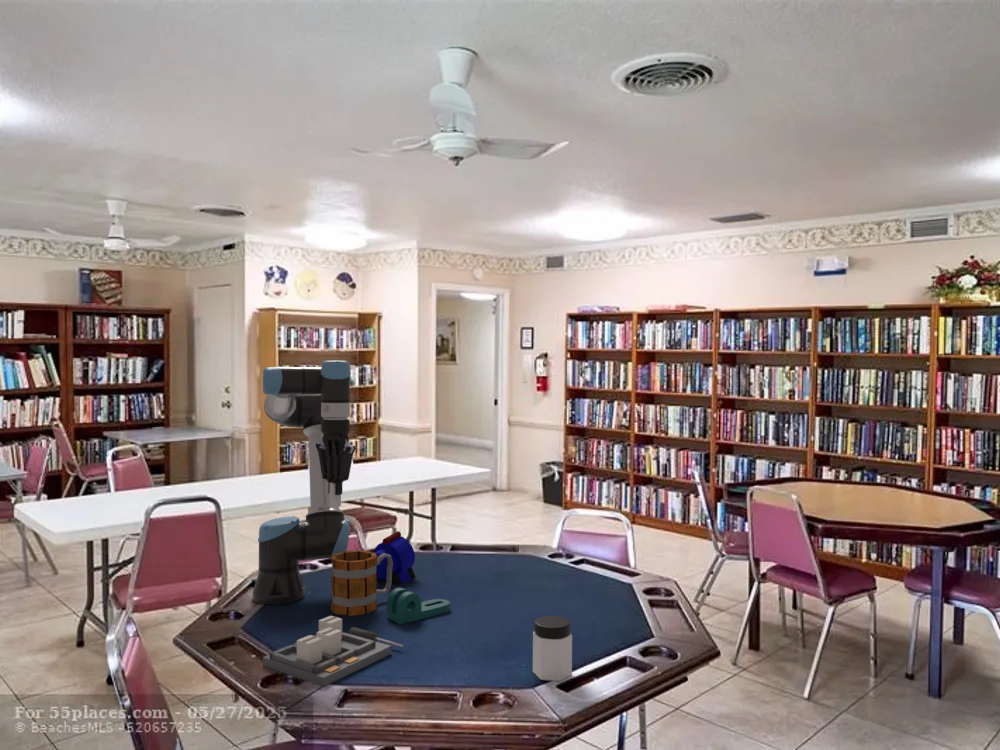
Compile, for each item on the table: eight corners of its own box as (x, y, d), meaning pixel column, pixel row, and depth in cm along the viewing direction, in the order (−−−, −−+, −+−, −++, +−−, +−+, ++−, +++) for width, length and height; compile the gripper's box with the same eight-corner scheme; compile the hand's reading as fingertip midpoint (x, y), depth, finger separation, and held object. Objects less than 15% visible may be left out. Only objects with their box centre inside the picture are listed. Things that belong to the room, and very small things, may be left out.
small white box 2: (318, 640, 183) (318, 619, 183) (330, 635, 187) (330, 615, 187) (330, 643, 181) (330, 622, 181) (342, 638, 184) (342, 618, 184)
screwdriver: (348, 637, 191) (348, 628, 191) (355, 635, 193) (355, 625, 193) (399, 652, 182) (399, 642, 182) (405, 649, 184) (405, 639, 184)
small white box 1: (296, 662, 170) (296, 639, 170) (310, 656, 174) (310, 634, 173) (308, 666, 168) (308, 643, 168) (322, 660, 171) (322, 637, 171)
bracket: (400, 625, 201) (400, 596, 201) (387, 618, 207) (387, 590, 206) (454, 611, 213) (454, 583, 213) (440, 605, 218) (440, 578, 218)
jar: (549, 663, 176) (549, 612, 176) (577, 672, 171) (578, 620, 171) (525, 674, 169) (526, 622, 169) (554, 685, 164) (555, 631, 164)
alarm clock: (417, 577, 245) (417, 532, 245) (392, 586, 235) (392, 539, 235) (388, 571, 252) (388, 527, 251) (363, 580, 241) (363, 534, 241)
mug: (345, 619, 205) (345, 565, 205) (321, 607, 215) (321, 555, 215) (404, 604, 218) (404, 553, 218) (379, 593, 228) (379, 544, 228)
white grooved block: (316, 653, 175) (316, 631, 175) (329, 648, 179) (329, 626, 178) (328, 657, 173) (328, 635, 173) (341, 651, 176) (341, 630, 176)
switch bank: (262, 665, 174) (262, 652, 174) (332, 636, 192) (332, 624, 192) (323, 686, 163) (323, 672, 163) (391, 653, 181) (391, 640, 181)
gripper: (307, 418, 199) (307, 506, 199) (342, 420, 192) (342, 512, 192) (328, 416, 205) (328, 501, 206) (363, 418, 198) (363, 507, 198)
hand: (335, 506), depth 199 cm, fingers closed
